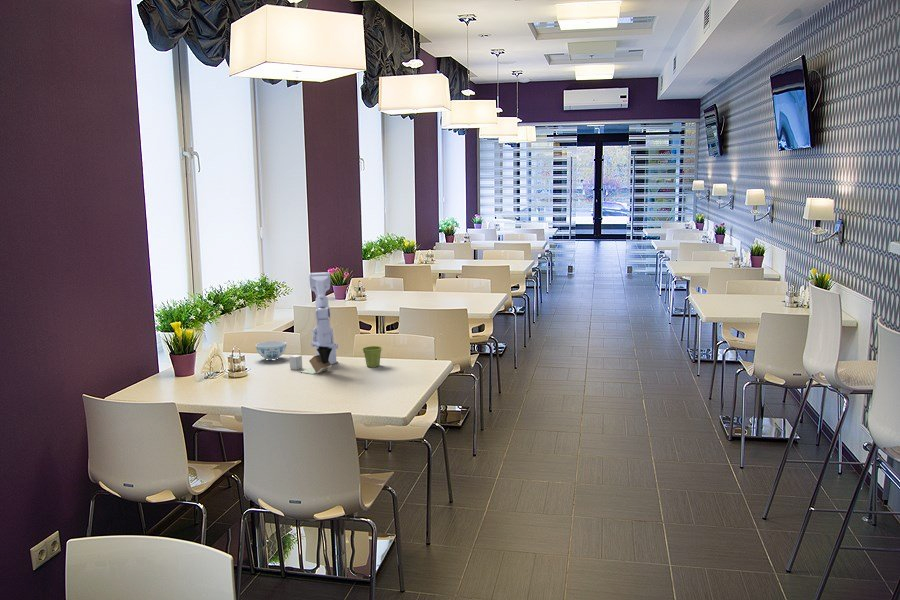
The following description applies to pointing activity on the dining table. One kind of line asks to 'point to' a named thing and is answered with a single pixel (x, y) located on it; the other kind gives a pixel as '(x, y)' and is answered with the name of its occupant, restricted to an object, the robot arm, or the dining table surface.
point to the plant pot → (372, 355)
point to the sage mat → (309, 371)
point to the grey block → (295, 362)
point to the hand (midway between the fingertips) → (325, 363)
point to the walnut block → (319, 364)
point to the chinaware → (271, 349)
